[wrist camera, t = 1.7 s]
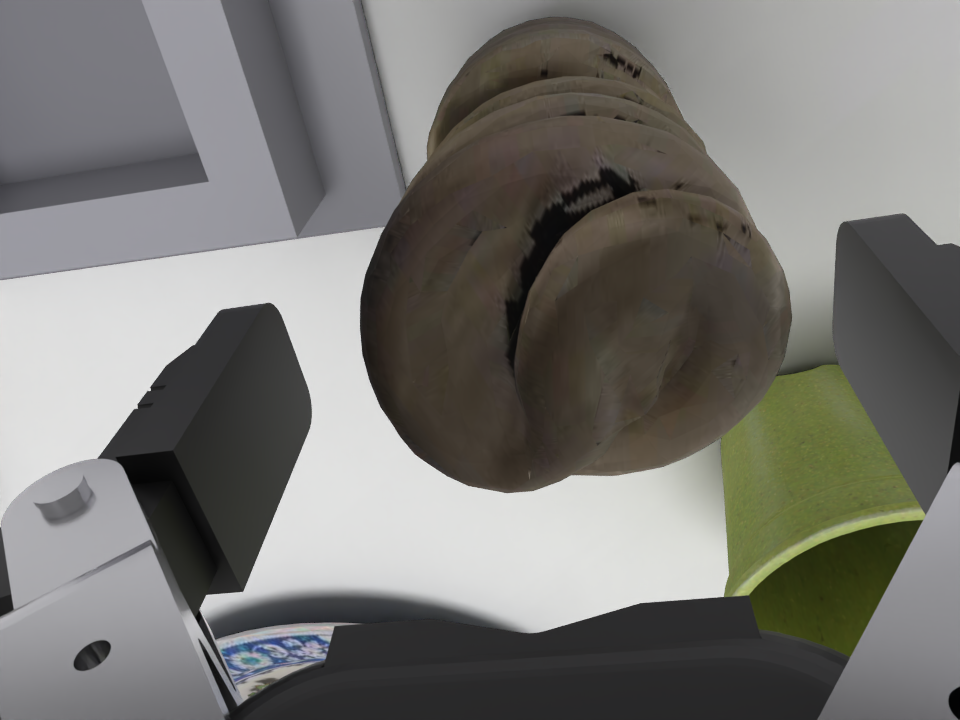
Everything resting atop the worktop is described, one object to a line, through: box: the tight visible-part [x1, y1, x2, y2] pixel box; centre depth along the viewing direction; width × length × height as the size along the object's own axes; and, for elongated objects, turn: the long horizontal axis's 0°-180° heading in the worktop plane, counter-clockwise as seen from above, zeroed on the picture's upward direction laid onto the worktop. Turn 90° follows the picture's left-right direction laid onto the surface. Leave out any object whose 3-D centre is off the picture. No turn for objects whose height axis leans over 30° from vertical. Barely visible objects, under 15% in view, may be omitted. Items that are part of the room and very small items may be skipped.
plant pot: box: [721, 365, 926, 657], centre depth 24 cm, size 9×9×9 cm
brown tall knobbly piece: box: [360, 17, 792, 493], centre depth 16 cm, size 6×6×15 cm
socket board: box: [0, 0, 406, 280], centre depth 20 cm, size 16×14×4 cm
